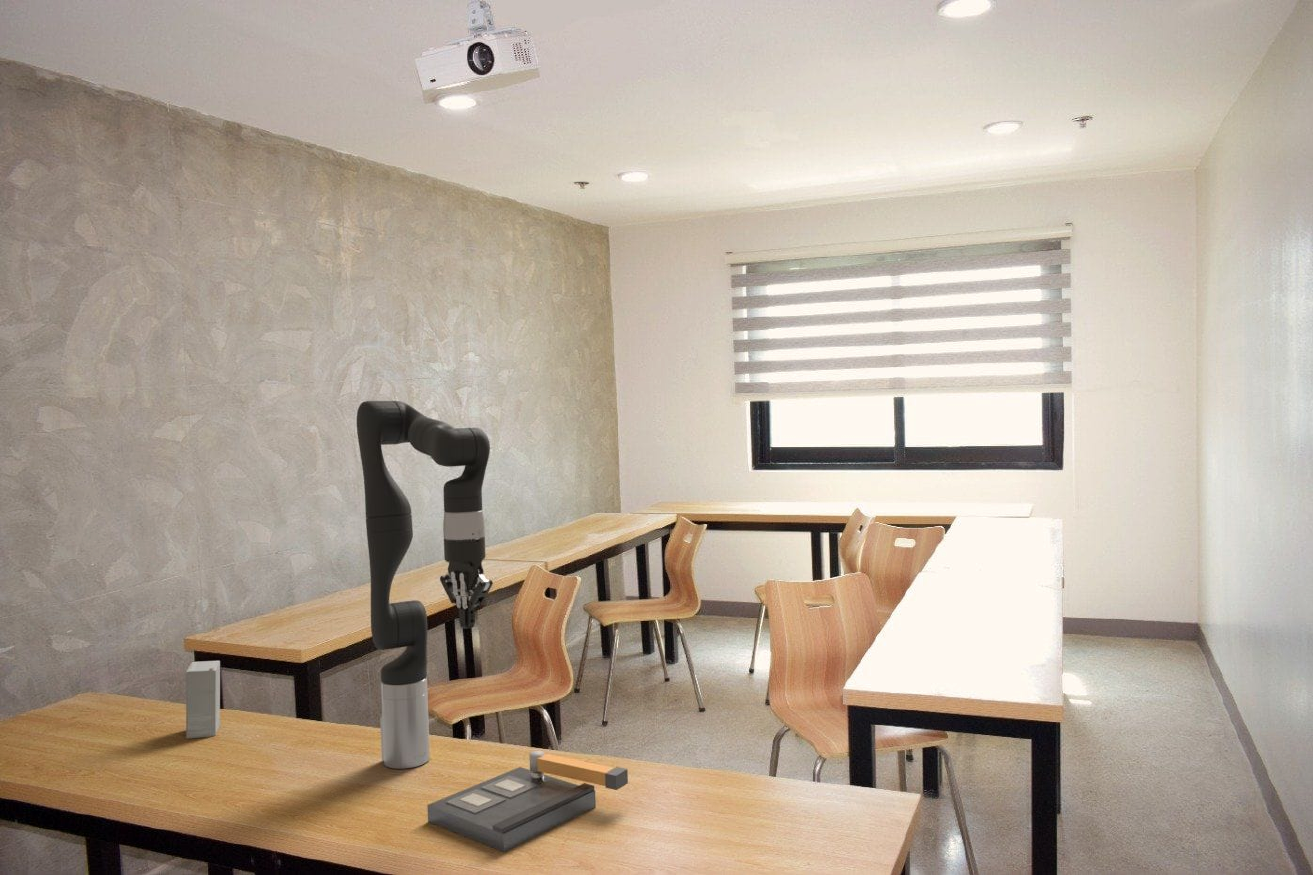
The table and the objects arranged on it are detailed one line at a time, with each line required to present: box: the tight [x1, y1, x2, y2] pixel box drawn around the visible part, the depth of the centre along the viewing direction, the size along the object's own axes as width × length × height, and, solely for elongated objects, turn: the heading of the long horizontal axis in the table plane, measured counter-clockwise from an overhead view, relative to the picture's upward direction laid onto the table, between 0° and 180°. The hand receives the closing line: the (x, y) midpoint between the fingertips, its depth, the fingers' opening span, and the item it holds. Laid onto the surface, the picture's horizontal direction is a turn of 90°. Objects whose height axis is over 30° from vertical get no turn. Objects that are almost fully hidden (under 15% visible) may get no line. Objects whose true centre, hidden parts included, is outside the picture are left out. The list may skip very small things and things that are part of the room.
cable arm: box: [528, 750, 629, 791], centre depth 179 cm, size 4×21×3 cm, turn 58°
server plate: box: [426, 766, 597, 853], centre depth 173 cm, size 20×22×4 cm
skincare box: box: [185, 660, 221, 740], centre depth 224 cm, size 8×7×16 cm
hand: (467, 627), depth 181 cm, fingers closed
